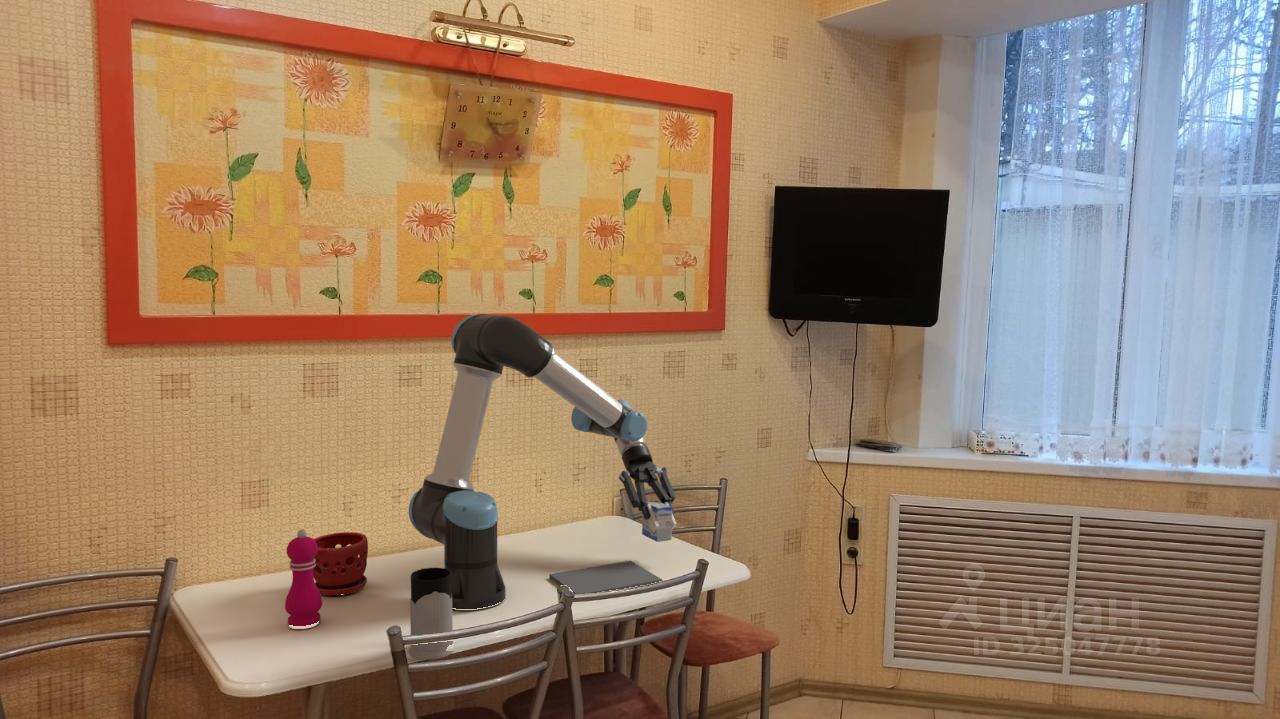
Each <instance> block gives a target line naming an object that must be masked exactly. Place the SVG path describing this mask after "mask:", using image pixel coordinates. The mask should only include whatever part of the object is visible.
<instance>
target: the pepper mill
mask: <svg viewBox="0 0 1280 719" xmlns="http://www.w3.org/2000/svg"><path fill="white" fill-rule="evenodd" d="M296 534H297V536H296V537H295V538H293V539H291V540H290V541H289V542H288V544H287V547H286V555H287V558H289V559H290V561H289V565H290V566H289V570H291V571H292V573H291V574H292V580H291V581H292V582H291V586H290V588H289V589H288V592H287V595H286V598H285V603H284V610H285V612H286V613H287V614H289V616H288V617H287V625H288V624H289V625H293V626H306V625H311V624H314V623H317V622H318V621H320V622H321V614H320V610H321V608H322V607H323V598H322V594H320V592H319V590H318V588H317V586H316V584H315V582H316V581H315V579H314V577H313V568H314V567H315V566H316V564H315V561H316V560H315V559H314V557H315V555H316V554H317V552H318V546H317V543H316V541H315V540H314V539H315V538H313V537H311V536H308V535H307V531H306V530H305V529H299V530H298V531H297V533H296Z"/></svg>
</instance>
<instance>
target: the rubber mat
mask: <svg viewBox="0 0 1280 719" xmlns="http://www.w3.org/2000/svg"><path fill="white" fill-rule="evenodd" d="M549 579H550V580H551V581H553V582H554V583H555V584H557V585H558V586H560V585H567V586H568V587H570V589H571V590H572V591H573V593H574V594H585V593H597V592H602V591H609V590H616V589H624V588H629V587H635V586H640V585H647V584H651V583H655V582H659V581H662V582H663V579H662V578H661V577H659V576H657V575H656V574H653V573H652V572H650V571H649V570H647V569H646V568H644V567H642V566H640V565H639V564H637V563H636V562H633V561H632V560H625V561H620V562H614V563H608V564H602V565H598V566H597V565H596V566H591V567H584V568H578V569H572V570H565V571H559V572H553V573H550V574H549Z"/></svg>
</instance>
